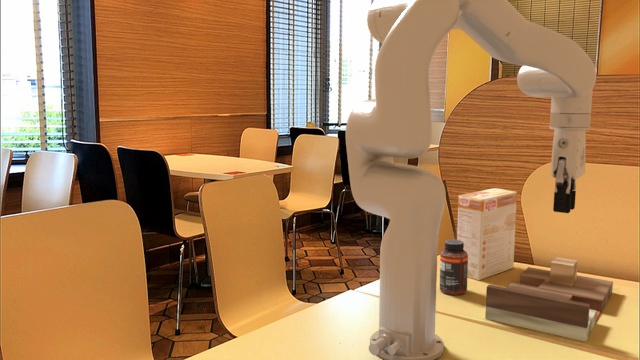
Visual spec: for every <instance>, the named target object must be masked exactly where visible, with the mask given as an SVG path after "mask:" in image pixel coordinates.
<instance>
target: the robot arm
mask: <svg viewBox="0 0 640 360" xmlns="http://www.w3.org/2000/svg"><path fill="white" fill-rule="evenodd" d="M366 22H367V28H368V30H369V33H370V35H371V36H372V38H373V39H375V40H376V41H377V42H379V43H381V46H380V48H379V51H378V53H377V57H376V61H375V65H374V66H375V67H374V89H375V94H374V95H375V96H374V97H375V98H371V99H366V100H363V101H361V102H360V103H358V104H356V106H355V107H353V109H352V111H351V112H350V113H349V115H348V119H347V120H346V121H347V122H346V125H345V126H346V127H345V146H346V154H347V155H346V156H347V164H348V175H349V182H350V189H351V194H352V197H353V199H354V201H355V204H356V205H357V206H358V207H359V208H360V209H362V210H363V211H365V212H368V213H370V214H372V215H376V216H380V217H384V218H386V219H388V220H389V223H388V226H387V228H386V230H385V232H384V234H383V236H382V239H381V243H380V250H379V251H380V252H379V260H380V261H379V308H378V309H379V313H378V314H379V317H378V318H379V319H378V320H379V321H378V322H379V323H378V330H377V331H375V332H373V334H372V335H371V336H370V338H369V346H368V351H369V353H370V354H371V355H373V356H378V357H381V358H382V359H384V360H436V359H438V358H439V357H441V356H442V355H443V352H444V348H445V344H444V343H445V342H444V341H443V339H442V338H441V337H440V336H439V335H437V334H436V311H437V310H436V308H437V278H438V277H437V275H438V247H439V233H440V227H441V223H442V218H443V213H444V209H445V205H446V198H447V196H446V195H447V194H446V193H447V192H446V188H445V184H444V182H443V181H442V179H441V178H440V177H439V175H437V174H436V172H433V171H432V170H430V169H428V168H425V167H422V166H418V165H412V164H406V163H397V162H394V158H395V159H403V160H404V159H416V158H419V157H421V156H423V155H425V154H426V153H427V152H428V150H429V149H430V146H431V144H432V139H433V137H432V136H433V126H432V125H433V124H432V109H431V107H432V106H431V95H430V66H431V62H432V60H433V56H434V54H435V53H436V50H438V47H439V45H440V44H441V43H442V41H443V40H444V39H445V38H446V37H447V36H448V34H449V33H450V32H451V31H452V30H460V31H463V32H464V33H465V34H466V35H467V37H469V38H470V39H471V40H472V41H474V43H476V44H477V45H478V46H479V47H480V48H481V49H482V50H484V51H485V53H487V54H488V56H490V57H492V58H493V59H494V60H498V61H501V62H504V63H507V64H512V65H518V66H521V67H520V69H519V70H518V72H517V76H516V81H517V87H518V88H519V90H520V91H521V93H523V94H524V95H527V96H528V97H532V98H543V99H545V98H547V99H548V98H549V99H551V102H550V116H549V117H550V118H549V130H554V133H553V139H552V140H553V141H552V152H551V163H550V175H551V177H552V178H554V179H555V184H554V192H553V193H554V194H553V209H552V210H553V212H555V213H563V214H569V213H571V210H572V211H573V210H575V208H576V206H575V205H576V196H577V195H576V194H577V193H576V192H577V191H576V188H577V179H579V178H581V177H582V176H583V175H584V174H585V173H586V172H585V171H586V147H587V146H586V145H587V142H586V141H587V139H586V136H587V135H586V131H590V129H591V119H592V118H591V115H592V102H593V91H594V90H593V89H594V87H595V85H596V81H597V70H596V68H595V67H596V66H595V64H594V63H593V60H592V59H591V58H590V56H589V55H588V53H587V52H585V50H584V49H583V48H582V47H581V46H580V45H579V44H578V43H577V42H576V41H575V40H573V39H571V38H569V37H568V36H566V35H564V34H562V33H559V32H557V31H556V30H553V29H550V28H548V27H546V26H543V25H540V24H538V23H536V22H532V21H529V20H527V18H526V17H524V16H523V15H522V14H521V13H520V12H519V11H518V10H517V9H516V8H515V6H513V5H512V4H511V2H509V0H374V1H373V2H372V4H371V6H370V7H369V10H368V13H367V19H366Z"/></svg>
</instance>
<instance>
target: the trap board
mask: <svg viewBox="0 0 640 360" xmlns="http://www.w3.org/2000/svg"><path fill="white" fill-rule="evenodd" d="M550 271H551V270H547V269H544V268H543V269H542V268H536V267H530V266H528V267H527V268H526V269H524V271H523V272H521V274H520V275H519V282H513V281H512V282H510V283H509V284H508V285H507V286H506V287H505V286H499V285H495V284H494V285H493V284H488V285H487V286H486V292H485V293H486V294H485V298H486V299H485V300H486V301H485V314H484V315H485V317H484V320H490V321H493V322H498V323H502V324H507V325H512V326H515V327H519V328H525V329H529V330H532V331H537V332H541V333H546V334H551V335H555V336H559V337H563V338H566V339H567V338H568V339H571V340H576V341H580V342H585V343H586V342H587V340H588V338H589V337H590V334H591V333H592V331H593V329H594V327H595V325H596V322H597V319H598V318H599V316H600V314H601V313H602V312H603V311H604V309H605V306H606V304H608V303H607V302H608V301H609V299H610V297H611V295H612V294H611V293H613V286H614V285H613V284H614V281H613V280H606V279H602V278H595V277H588V276H582V275H578V274H577V277H576V281H575V283H574V284H573V285H572V286H568V285H563V284H557V283H552V282H550Z"/></svg>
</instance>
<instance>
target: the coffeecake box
mask: <svg viewBox="0 0 640 360" xmlns="http://www.w3.org/2000/svg"><path fill="white" fill-rule="evenodd" d="M517 198H518V191H516V190H507V189H504V188H496V187H495V188H494V187H493V188H490V189H489V188H488V189H484V190H479V191H474V192H469V193H464V194H460V195H458V199H457V201H458V202H457V205H458V206H457V228H456V230H457V233H456V240H461V241H463V242H464V248H463V249H464V251H466V252H467V254H468V274H467V278H470V279H473V280H476V281H481V280H483V279H487V278H489V277H492V276H494V275H497V274H499V273H503V272H506V271H509V270H510V269H513V268H514V265H515V263H514V261H515V260H514V259H515V243H516V242H515V241H516V240H515V238H516V220H517V201H518V199H517Z"/></svg>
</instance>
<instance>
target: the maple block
mask: <svg viewBox="0 0 640 360" xmlns="http://www.w3.org/2000/svg"><path fill="white" fill-rule="evenodd" d="M578 263H579V262H578V260H576V259H575V260H574V259H570V258H562V257H554V258H553V260H552V261H551V262H550V270H549V271H550V282H552V283H557V284H563V285H568V286H572V285H573V284H574V283H575V281H576V277H577V275H578V274H577V273H578Z"/></svg>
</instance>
